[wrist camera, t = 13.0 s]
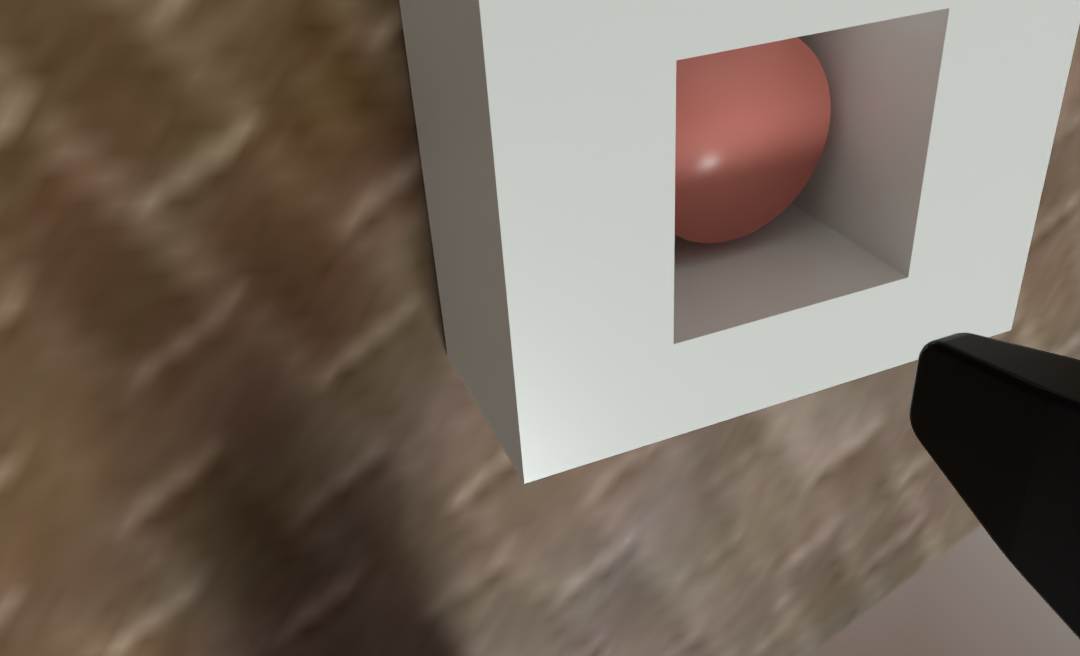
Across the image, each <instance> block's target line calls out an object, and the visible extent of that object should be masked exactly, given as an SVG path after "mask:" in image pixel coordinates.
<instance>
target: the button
mask: <svg viewBox="0 0 1080 656" xmlns="http://www.w3.org/2000/svg"><path fill="white" fill-rule="evenodd" d="M830 114H831V101H830V91H829V86H828V82H827V78H826V75H825V73H824V70H823V67H822V66H821V64H820V62H819V60H818V58H817V57H816V55H815V54H814V53H813V52H812V50H811V49H810V48H809V47H808V46H807V45H806V44H805V43H804V42H803V41H802V40H800V39H799V38H797V37H796V38H790V39H785V40H780V41H775V42H770V43H764V44H759V45H754V46H749V47H744V48H738V49H733V50H728V51H723V52H718V53H712V54H707V55H702V56H697V57H692V58H686V59H681V60H676V145H675V235H676V236H678V237H680V238H683V239H685V240H689V241H693V242H699V243H720V242H726V241H731V240H734V239H737V238H741V237H744V236H746V235H748V234H750V233H752V232H755V231H756V230H758V229H760V228H761V227H763V226H765V225H766V224H768V223H769V222H771V221H772V220H773V219H775V218H776V217H777V216H778V215H780V214H781V213H782V212H783V211H784V210H785V209H786V208H787V207H788V206H789V205H790V204H791V203H792V202H793V201H794V200H795V198H796V197H797V196H798V195H799V194H800V192H801V191H802V190H803V188H804V187H805V186H806V184H807V182H808V181H809V179H810V177H811V176H812V174H813V173H814V170H815V168H816V166H817V164H818V162H819V160H820V158H821V155H822V152H823V150H824V147H825V143H826V139H827V136H828V131H829V124H830Z"/></svg>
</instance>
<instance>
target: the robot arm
mask: <svg viewBox="0 0 1080 656" xmlns="http://www.w3.org/2000/svg"><path fill="white" fill-rule="evenodd" d="M909 414H910V422H911V425H912V428H913V431H914V433H915V435H916V436H917V438H918V440H919V441H920V442H921V444H922V445H923V446H924V448H925V449H926V450H927V452H928V453H929V454H930V456H931V457H932V458H933V460H934V461H935V462H936V464H937V465H938V467H939V468H940V469H941V471H942V472H943V473H944V475H945V476H946V477H947V479H948V480H949V481H950V483H951V484H952V485H953V487H954V488H955V489H956V491H957V492H958V493H959V495H960V496H961V497H962V499H963V500H964V501H965V503H966V504H967V506H968V507H969V508H970V510H971V511H972V512H973V514H974V515H975V516H976V518H977V519H978V520H979V522H980V523H981V524H982V526H983V527H984V528H985V530H986V531H987V532H988V534H989V535H990V536H991V538H992V539H993V540H994V542H995V543H996V544H997V546H998V547H999V548H1000V549H1001V551H1002V552H1003V553H1004V554H1005V556H1006V557H1007V558H1008V559H1009V561H1010V562H1011V563H1012V564H1013V565H1014V567H1015V568H1016V569H1017V570H1018V571H1019V572H1020V573H1021V575H1022V576H1023V577H1024V578H1025V579H1026V581H1027V582H1028V583H1029V584H1030V585H1031V586H1032V587H1033V588H1034V589H1035V590H1036V592H1037V593H1038V594H1039V595H1040V596H1041V597H1042V598H1043V599H1044V600H1045V602H1046V603H1047V604H1048V605H1049V606H1050V607H1051V608H1052V609H1053V610H1054V612H1055V613H1056V614H1057V615H1058V616H1059V617H1060V618H1061V619H1062V620H1063V622H1064V623H1065V624H1066V625H1067V626H1068V627H1069V628H1070V629H1071V630H1072V631H1073V633H1075V635H1076V636H1077V637H1078V638H1079V639H1080V360H1078V359H1074V358H1070V357H1066V356H1061V355H1057V354H1053V353H1049V352H1045V351H1041V350H1037V349H1033V348H1029V347H1025V346H1021V345H1017V344H1013V343H1009V342H1005V341H1001V340H997V339H993V338H989V337H985V336H981V335H976V334H972V333H956V334H953V335H949V336H946V337H943V338H940V339H936V340H933V341H931V342H929V343H927V344H926V345H925V346H924V347H923V349H922V350H921V352H920V354H919V357H918V363H917V368H916V374H915V380H914V386H913V392H912V398H911V404H910V412H909Z"/></svg>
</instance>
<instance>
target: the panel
mask: <svg viewBox="0 0 1080 656" xmlns="http://www.w3.org/2000/svg"><path fill="white" fill-rule="evenodd" d="M399 3H400V10H401V18H402V25H403V33H404V40H405V47H406V55H407V62H408V69H409V77H410V84H411V91H412V99H413V106H414V113H415V121H416V128H417V136H418V143H419V150H420V158H421V165H422V172H423V180H424V187H425V194H426V202H427V209H428V216H429V224H430V231H431V239H432V246H433V253H434V261H435V268H436V275H437V283H438V290H439V297H440V305H441V312H442V319H443V327H444V334H445V342H446V349H447V356H448V358H449V360H450V361H451V363H452V365H453V366H454V368H455V370H456V371H457V373H458V375H459V376H460V378H461V380H462V381H463V383H464V385H465V386H466V388H467V390H468V391H469V393H470V395H471V396H472V398H473V400H474V401H475V403H476V404H477V406H478V408H479V409H480V411H481V413H482V414H483V416H484V418H485V419H486V421H487V423H488V424H489V426H490V428H491V429H492V431H493V433H494V434H495V436H496V438H497V439H498V441H499V443H500V444H501V446H502V447H503V449H504V451H505V452H506V454H507V456H508V457H509V459H510V461H511V462H512V464H513V466H514V467H515V469H516V471H517V472H518V474H519V476H520V477H521V479H522V481H523V482H524V484H525V483H528V482H531V481H534V480H538V479H541V478H544V477H547V476H550V475H553V474H557V473H560V472H563V471H566V470H569V469H572V468H576V467H579V466H582V465H585V464H588V463H591V462H595V461H598V460H601V459H604V458H607V457H610V456H614V455H617V454H620V453H623V452H626V451H629V450H633V449H636V448H639V447H642V446H645V445H648V444H652V443H655V442H658V441H661V440H664V439H667V438H671V437H674V436H677V435H680V434H683V433H686V432H690V431H693V430H696V429H699V428H702V427H705V426H709V425H712V424H715V423H718V422H721V421H724V420H728V419H731V418H734V417H737V416H740V415H744V414H747V413H750V412H753V411H756V410H759V409H763V408H766V407H769V406H772V405H775V404H778V403H782V402H785V401H788V400H791V399H794V398H797V397H801V396H804V395H807V394H810V393H813V392H816V391H820V390H823V389H826V388H829V387H832V386H835V385H839V384H842V383H845V382H848V381H851V380H854V379H858V378H861V377H864V376H867V375H870V374H873V373H877V372H880V371H883V370H886V369H889V368H892V367H896V366H899V365H902V364H905V363H908V362H911V361H915V360H918V357H919V354H920V352H921V350H922V349H923V347H924V346H925V345H926V344H927V343H929V342H931V341H933V340H936V339H940V338H943V337H946V336H949V335H953V334H956V333H972V334H976V335H981V336H985V337H991V336H994V335H997V334H1000V333H1003V332H1007V331H1010V330H1011V328H1012V323H1013V319H1014V314H1015V310H1016V305H1017V301H1018V297H1019V292H1020V288H1021V283H1022V279H1023V274H1024V270H1025V265H1026V261H1027V256H1028V252H1029V247H1030V243H1031V238H1032V234H1033V230H1034V225H1035V221H1036V216H1037V212H1038V207H1039V203H1040V198H1041V194H1042V189H1043V185H1044V180H1045V176H1046V171H1047V167H1048V163H1049V158H1050V154H1051V149H1052V145H1053V140H1054V136H1055V131H1056V127H1057V122H1058V118H1059V113H1060V109H1061V104H1062V100H1063V96H1064V91H1065V87H1066V82H1067V78H1068V73H1069V69H1070V64H1071V60H1072V55H1073V51H1074V46H1075V42H1076V37H1077V33H1078V29H1079V24H1080V0H399ZM796 37H797V38H799V39H800V40H802V41H803V42H804V43H805V44H806V45H807V46H808V47H809V48H810V49H811V50H812V52H813V53H814V54H815V55H816V57H817V58H818V60H819V62H820V64H821V66H822V67H823V70H824V73H825V75H826V78H827V82H828V86H829V91H830V101H831V114H830V124H829V131H828V136H827V139H826V143H825V147H824V150H823V152H822V155H821V158H820V160H819V162H818V164H817V166H816V168H815V170H814V173H813V174H812V176H811V177H810V179H809V181H808V182H807V184H806V186H805V187H804V188H803V190H802V191H801V192H800V194H799V195H798V196H797V197H796V198H795V200H794V201H793V202H792V203H791V204H790V205H789V206H788V207H787V208H786V209H785V210H784V211H783V212H782V213H781V214H780V215H778V216H777V217H776V218H775V219H773V220H772V221H771V222H769V223H768V224H766V225H765V226H763V227H761V228H760V229H758V230H756V231H755V232H752V233H750V234H748V235H746V236H744V237H741V238H737V239H734V240H731V241H726V242H720V243H699V242H693V241H689V240H685V239H683V238H680V237H678V236H676V235H675V145H676V60H681V59H686V58H692V57H697V56H702V55H707V54H712V53H718V52H723V51H728V50H733V49H738V48H744V47H749V46H754V45H759V44H764V43H770V42H775V41H780V40H785V39H790V38H796Z"/></svg>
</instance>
